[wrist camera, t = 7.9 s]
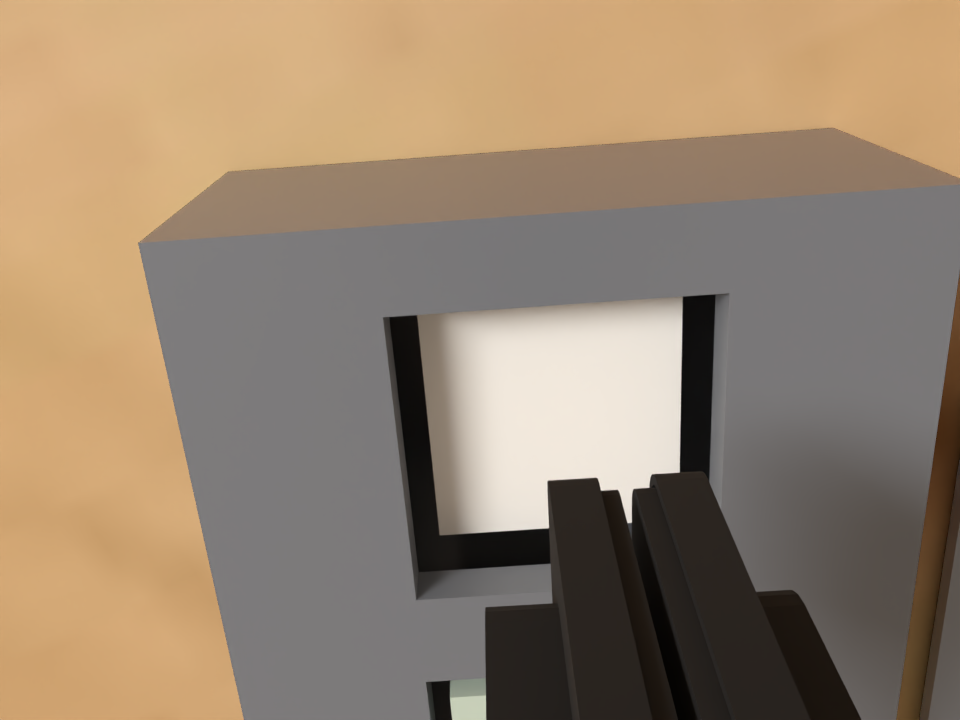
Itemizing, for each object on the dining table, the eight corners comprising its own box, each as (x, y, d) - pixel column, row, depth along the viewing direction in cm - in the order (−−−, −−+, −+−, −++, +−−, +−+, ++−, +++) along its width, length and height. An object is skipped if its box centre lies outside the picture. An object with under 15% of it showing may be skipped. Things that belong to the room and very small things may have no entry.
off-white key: (423, 267, 17) (416, 311, 15) (654, 251, 17) (682, 291, 15) (443, 470, 19) (439, 535, 17) (653, 456, 19) (678, 519, 17)
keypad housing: (227, 171, 18) (137, 243, 13) (833, 127, 18) (971, 183, 13) (360, 923, 26) (336, 1136, 22) (771, 898, 26) (840, 1108, 21)
